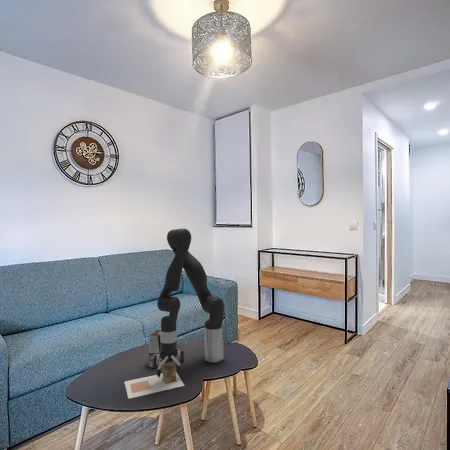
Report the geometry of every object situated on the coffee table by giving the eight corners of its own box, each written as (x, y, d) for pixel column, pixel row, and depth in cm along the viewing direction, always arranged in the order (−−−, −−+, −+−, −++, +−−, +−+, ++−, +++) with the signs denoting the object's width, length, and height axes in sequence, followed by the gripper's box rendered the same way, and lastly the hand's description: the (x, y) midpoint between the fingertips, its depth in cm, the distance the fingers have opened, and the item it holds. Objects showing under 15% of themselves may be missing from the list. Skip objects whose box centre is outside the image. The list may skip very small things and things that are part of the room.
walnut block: (173, 376, 142) (173, 363, 142) (176, 381, 137) (176, 368, 137) (162, 378, 140) (162, 365, 140) (165, 383, 135) (165, 370, 135)
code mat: (175, 371, 147) (175, 370, 147) (184, 386, 134) (184, 385, 134) (124, 382, 137) (124, 381, 137) (128, 399, 124) (128, 398, 124)
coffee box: (160, 368, 150) (160, 336, 150) (148, 367, 151) (148, 335, 151) (167, 360, 159) (167, 330, 159) (156, 359, 160) (156, 329, 160)
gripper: (181, 334, 145) (181, 368, 145) (151, 339, 139) (151, 374, 139) (185, 340, 138) (185, 375, 138) (154, 344, 132) (154, 381, 132)
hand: (168, 374), depth 138 cm, fingers open, 8 cm apart
